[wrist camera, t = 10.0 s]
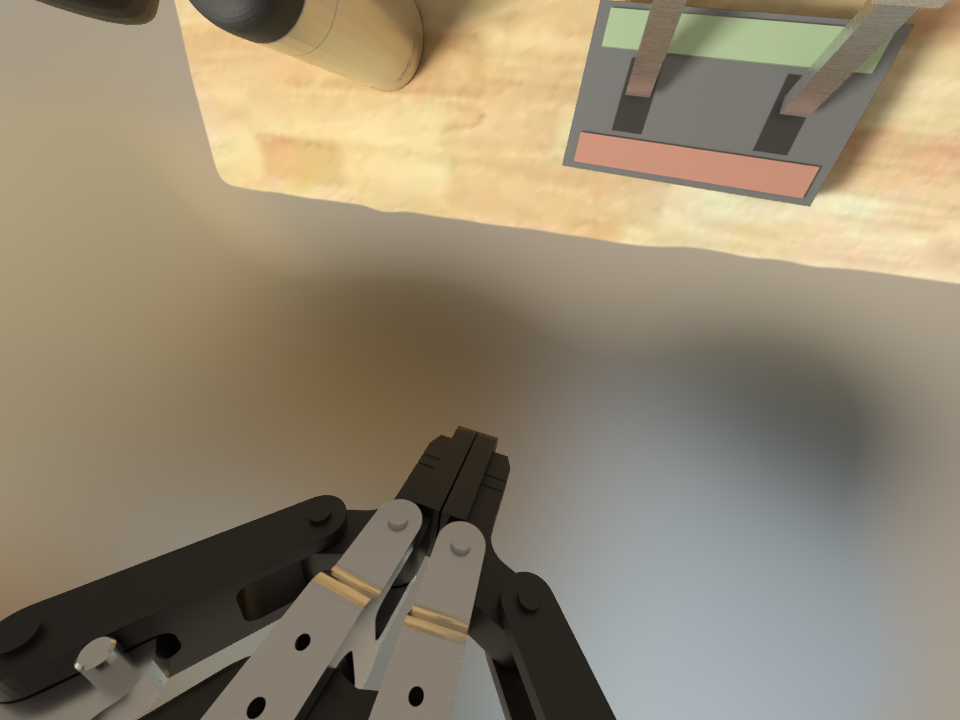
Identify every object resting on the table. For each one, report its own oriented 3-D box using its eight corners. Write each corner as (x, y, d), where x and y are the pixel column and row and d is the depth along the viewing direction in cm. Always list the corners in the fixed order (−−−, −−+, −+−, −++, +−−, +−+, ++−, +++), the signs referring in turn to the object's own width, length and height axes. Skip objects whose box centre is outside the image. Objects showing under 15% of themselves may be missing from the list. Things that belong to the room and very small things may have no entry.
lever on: (655, 104, 30) (721, -56, 19) (616, 99, 30) (659, -59, 19) (662, 76, 30) (734, -100, 19) (624, 72, 30) (670, -102, 19)
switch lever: (814, 124, 27) (997, -45, 16) (769, 119, 28) (917, -49, 17) (822, 95, 27) (1011, -94, 16) (777, 90, 28) (930, -97, 17)
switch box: (788, 203, 34) (811, 206, 31) (565, 165, 38) (562, 165, 34) (876, 42, 28) (917, 22, 24) (600, 18, 32) (600, -3, 28)
